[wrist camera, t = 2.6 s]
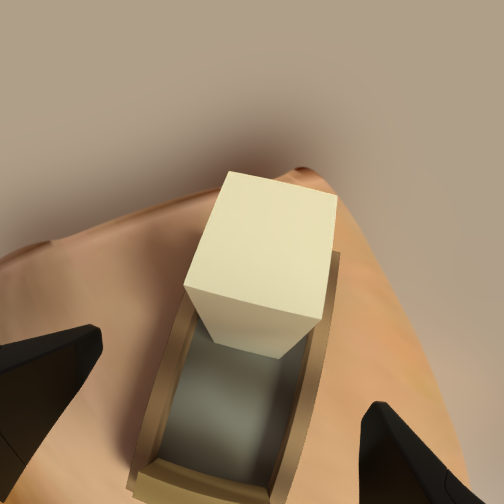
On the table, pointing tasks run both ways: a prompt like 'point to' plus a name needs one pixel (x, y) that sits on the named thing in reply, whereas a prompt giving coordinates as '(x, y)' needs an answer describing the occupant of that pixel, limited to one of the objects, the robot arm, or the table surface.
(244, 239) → the block
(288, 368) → the track
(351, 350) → the table surface
